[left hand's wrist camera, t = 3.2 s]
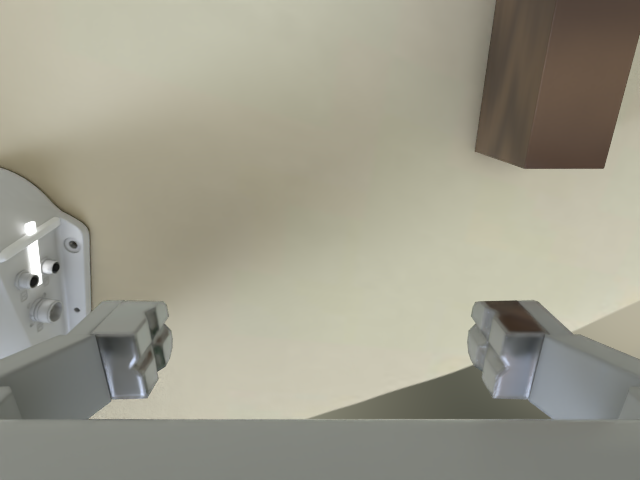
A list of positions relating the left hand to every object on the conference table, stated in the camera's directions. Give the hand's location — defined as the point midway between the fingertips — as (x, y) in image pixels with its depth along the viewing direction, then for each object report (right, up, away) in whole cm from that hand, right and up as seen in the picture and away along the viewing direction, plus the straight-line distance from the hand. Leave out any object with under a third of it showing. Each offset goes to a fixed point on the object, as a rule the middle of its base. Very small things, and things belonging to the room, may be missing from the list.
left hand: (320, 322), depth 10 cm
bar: (+18, +21, +22) cm, 36 cm away
